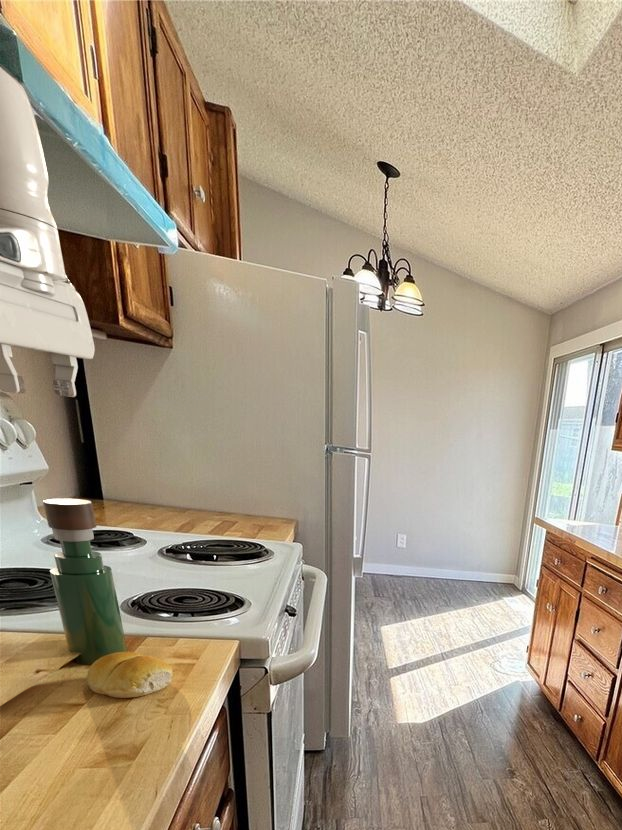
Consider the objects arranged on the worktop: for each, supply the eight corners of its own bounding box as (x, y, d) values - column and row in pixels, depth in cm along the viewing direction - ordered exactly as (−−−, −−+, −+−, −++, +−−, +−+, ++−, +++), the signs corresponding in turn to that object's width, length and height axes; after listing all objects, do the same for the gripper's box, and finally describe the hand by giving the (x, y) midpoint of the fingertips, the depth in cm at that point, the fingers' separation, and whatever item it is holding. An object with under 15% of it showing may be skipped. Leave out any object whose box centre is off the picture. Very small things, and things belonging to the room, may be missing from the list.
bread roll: (131, 666, 74) (126, 638, 73) (185, 680, 72) (181, 652, 71) (70, 689, 67) (62, 659, 65) (128, 706, 65) (121, 675, 63)
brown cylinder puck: (39, 527, 67) (33, 502, 66) (63, 521, 71) (58, 497, 70) (83, 531, 67) (77, 506, 66) (104, 524, 72) (100, 500, 71)
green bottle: (59, 663, 73) (26, 528, 66) (87, 645, 79) (59, 519, 72) (112, 665, 74) (85, 533, 67) (136, 648, 80) (113, 524, 73)
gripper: (42, 270, 69) (65, 394, 74) (-106, 214, 50) (-59, 385, 56) (98, 279, 69) (117, 401, 75) (-27, 227, 51) (11, 394, 57)
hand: (41, 394), depth 65 cm, fingers open, 8 cm apart
